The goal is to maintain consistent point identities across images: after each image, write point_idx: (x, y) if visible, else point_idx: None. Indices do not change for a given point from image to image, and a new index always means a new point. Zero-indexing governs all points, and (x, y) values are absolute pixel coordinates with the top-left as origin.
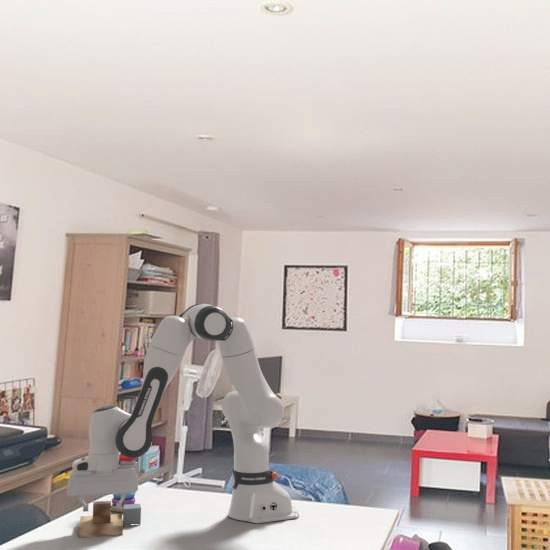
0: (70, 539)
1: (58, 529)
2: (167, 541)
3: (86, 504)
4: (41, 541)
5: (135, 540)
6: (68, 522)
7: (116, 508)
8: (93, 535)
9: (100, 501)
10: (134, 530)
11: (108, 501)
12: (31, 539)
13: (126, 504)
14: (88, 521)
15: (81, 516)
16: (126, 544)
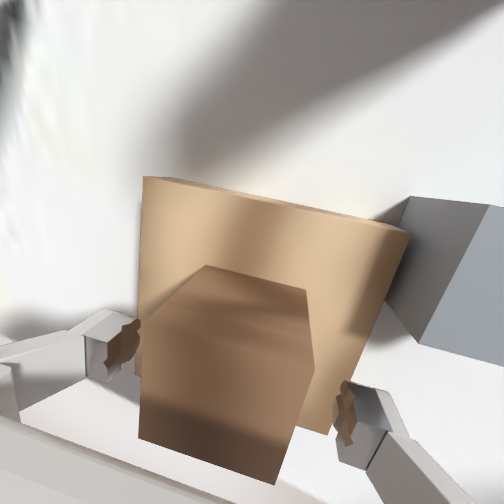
0: None
1: (79, 205)
2: None
3: (92, 352)
4: (41, 323)
5: (344, 469)
6: (115, 95)
7: (332, 419)
8: None
9: (209, 343)
10: (393, 373)
11: (284, 380)
12: (6, 287)
13: None
14: None
15: (148, 180)
16: (300, 481)
